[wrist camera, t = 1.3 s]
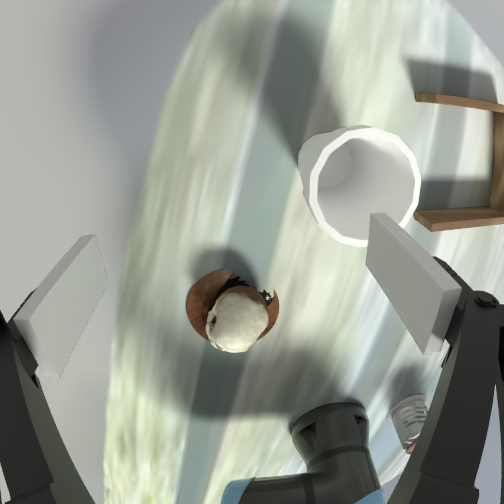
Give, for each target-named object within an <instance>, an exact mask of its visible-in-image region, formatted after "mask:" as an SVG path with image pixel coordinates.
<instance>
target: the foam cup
mask: <svg viewBox="0 0 504 504" xmlns="http://www.w3.org/2000/svg"><path fill="white" fill-rule="evenodd" d="M298 169H299V172H300V176H301V180H302V183H303V195H304V198H305V200H306V202H307V204H308V207H309V209H310V211H311V214H312V216H313V218H314V219H315V221H316V222H317V224H318V225H319V227H320V228H322V229H323V230H324V231H325V232H327V233H328V234H329V235H330V236H331V237H333V238H334V239H335V240H336V241H338V242H339V243H344V244H348V245H353V246H358V247H366V246H368V237H369V226H370V214H371V213H384V212H385V213H386V214H387V215H388V216H389V217H390V218H392V219H393V220H394V221H395V222H396V223H397V224H398V225H399V226H400V227H401V228H402V229H403V228H404V227H405V226H406V224H407V223H408V221H409V219H410V218H411V216H412V214H413V212H414V211H415V209H416V207H417V205H418V201H419V194H420V186H421V176H420V173H419V169H418V166H417V162H416V159H415V155H414V154H413V153H412V152H411V150H410V149H409V148H408V147H407V146H406V145H405V144H404V143H403V141H402V140H401V139H400V138H399V137H398V136H396V135H394V134H391V133H388V132H386V131H383V130H380V129H377V128H375V127H370V126H365V125H358V126H351V127H345V128H339V129H336V130H335V131H334V132H328V133H322V134H317V135H314V136H312V137H311V138H310V139H308V140H307V141H306V142H304V144H303V146H302V148H301V150H300V151H299V153H298Z"/></svg>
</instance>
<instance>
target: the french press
mask: <svg viewBox="0 0 504 504" xmlns="http://www.w3.org/2000/svg"><path fill="white" fill-rule="evenodd" d="M427 401H428V399H427V397H426V396H425V395H423V394H416V395H412V396H409V397H406V398H405V399H403V400H401V401H399V402H398V403H396V404H395V405H394V406H393V407H392V408H391V409H390V410H389V411H388V413H387V415H386V420H387V421H388V422H389V423H393V424H394V427H395V429H396V432H397V434H398V437H399V439H400V442H401V444H402V446H403V448H404V449H406V453H407V454H412V451H413V449H414V447H415V444H416V442H417V440H418V437H419V436H418V437H416V438H415V439H411V440H408V439H409V438H410V437H414V436H415V435H417V434H418V433H419V432H420V431H421V430H422V427H423V425H424V422H425V419H426V416H427V414H428V409H427V407H426V404H427ZM423 411H426V413H424V412H423ZM416 422H418V423H416ZM406 428H407V429H406ZM405 441H408V442H412V443H411V444H408V443H405Z"/></svg>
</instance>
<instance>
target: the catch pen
mask: <svg viewBox="0 0 504 504" xmlns="http://www.w3.org/2000/svg"><path fill="white" fill-rule="evenodd" d="M416 102H427V103H437V104H447V105H455V106H463V107H470V108H477V109H483V110H489V111H494V159H493V174H492V186H491V195H490V204H489V206H483V207H468V208H454V209H441V210H427V211H415V215H414V219H415V220H416V221H418V222H419V223H421V224H422V225H423V226H424V227H426V228H427V229H428V230H430V231H431V232H434V231H443V230H453V229H462V228H471V227H480V226H489V225H498V224H504V105H502V104H497V103H492V102H486V101H481V100H475V99H469V98H463V97H456V96H449V95H441V94H416Z"/></svg>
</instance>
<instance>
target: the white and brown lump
mask: <svg viewBox="0 0 504 504" xmlns="http://www.w3.org/2000/svg"><path fill="white" fill-rule="evenodd" d="M234 274H236V273H233V274H232V272H230V271H229V270H224V269H221V270H218V271H215V272H212V273H210V274H208V275H206V276H205V277H203V278H202V279H201V280H200V281H199V282H198V283H197V284H196V285H195V286H194V287H193V289H192V291H191V293H190V295H189V298H188V302H187V313H188V317H189V320H190V323H191V324H192V326H193V328H194V329H195V330H196V331H197V332H198V333H199V334H200V335H201V336H202V337H204V338H205V339H207V340H209V341H210V342H211V344H212V346H214V347H215V348H217V349H219V350H222V351H228V352H232V353H237V352H245V351H247V350H248V348H249V347H250V346H251V345H252V344H253V343H254V342H255V341H256V340H258V339H260V338H262V337H263V336H264V335H266V334H267V333H268V332H269V331H270V330H271V328H272V327H273V325H274V324H275V322H276V320H277V317H278V313H279V300H278V297H277V294H276V292H275V290H274V297H273V298H270V297H271V296H270V294H269V293H270V292H268V293H266V291H265V290H263V293H261V292H260V291H259V292H258V291H257V290H256V289H255V288H254V287H253V288H252V287H250V286H249V285H248V284H245V281H244V280H243V281H239V278H241V277H239V276H238V277H234V278H232V279H230V278H231V277H232V276H233V275H234ZM236 283H237V284H236ZM273 289H274V288H273ZM267 295H268V297H269V298H268V299H269V300H267V301H266V297H267ZM274 298H275V299H274ZM264 299H265V300H264Z"/></svg>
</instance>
